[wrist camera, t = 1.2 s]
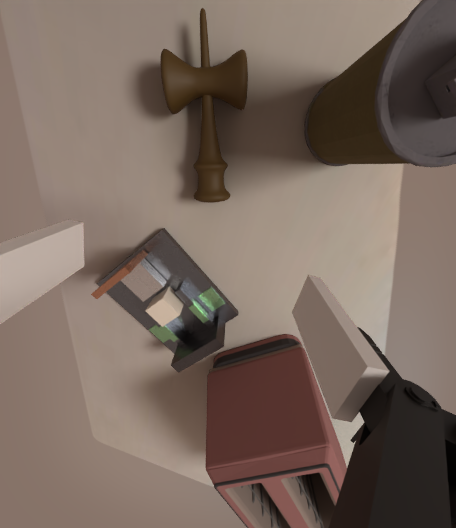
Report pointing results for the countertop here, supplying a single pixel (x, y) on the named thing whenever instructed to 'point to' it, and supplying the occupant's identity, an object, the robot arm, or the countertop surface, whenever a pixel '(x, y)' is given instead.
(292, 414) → the toaster
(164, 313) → the cream cube block
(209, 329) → the grey slider puzzle board
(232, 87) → the kendama
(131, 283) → the two-tone wooden block
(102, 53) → the countertop surface
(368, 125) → the canister
